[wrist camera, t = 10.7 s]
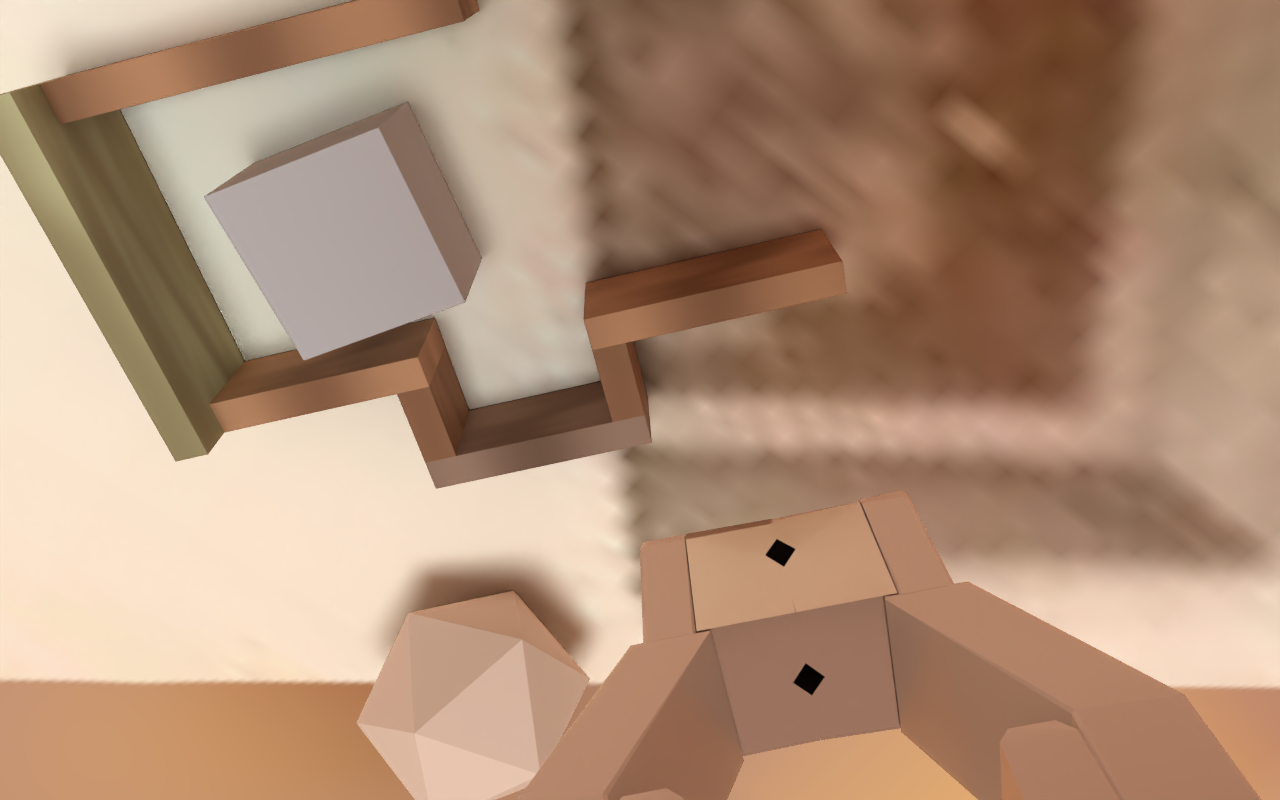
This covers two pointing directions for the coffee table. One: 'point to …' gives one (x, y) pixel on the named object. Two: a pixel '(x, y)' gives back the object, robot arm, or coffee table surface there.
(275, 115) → the coffee table surface
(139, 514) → the coffee table surface
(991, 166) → the coffee table surface
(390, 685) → the die
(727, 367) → the coffee table surface
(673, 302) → the box
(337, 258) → the block
